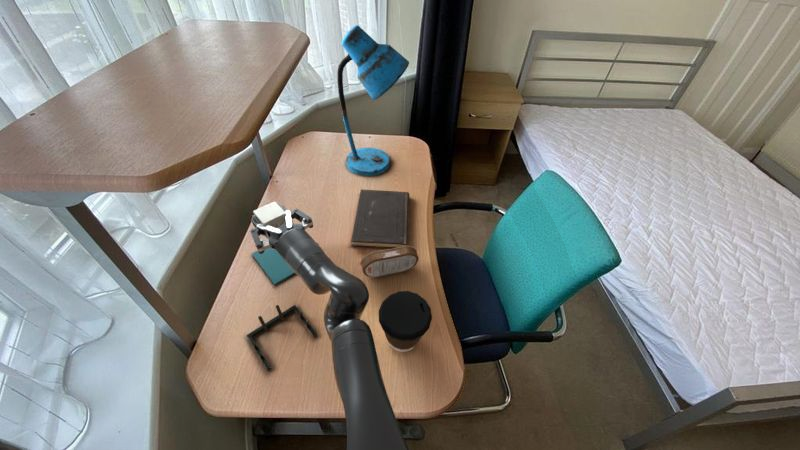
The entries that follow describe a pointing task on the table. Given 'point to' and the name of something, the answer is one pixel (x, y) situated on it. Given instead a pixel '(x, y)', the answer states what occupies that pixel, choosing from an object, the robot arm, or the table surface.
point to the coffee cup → (404, 319)
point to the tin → (389, 261)
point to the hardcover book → (381, 219)
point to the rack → (271, 322)
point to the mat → (273, 265)
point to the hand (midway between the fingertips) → (266, 212)
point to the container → (270, 215)
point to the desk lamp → (369, 90)
